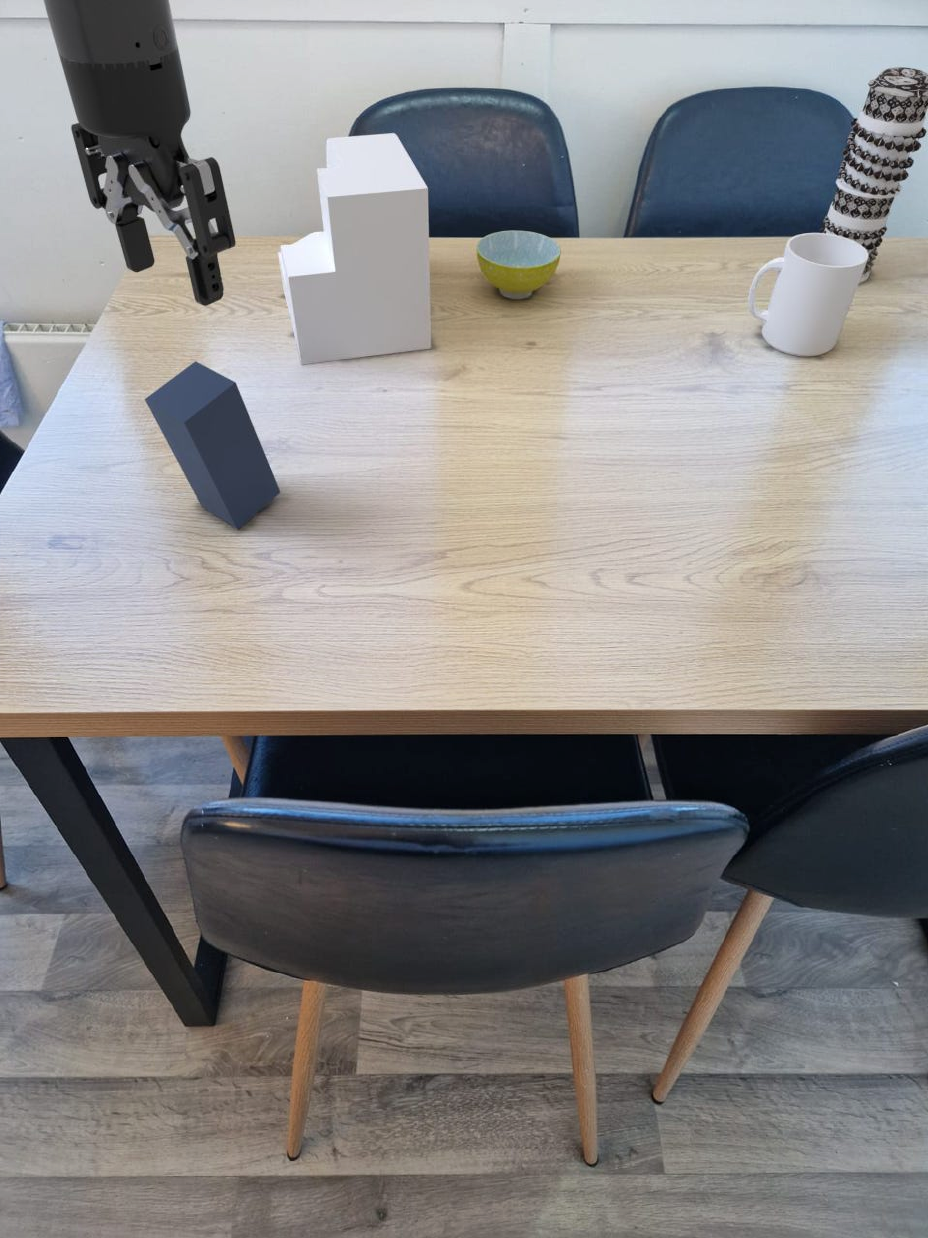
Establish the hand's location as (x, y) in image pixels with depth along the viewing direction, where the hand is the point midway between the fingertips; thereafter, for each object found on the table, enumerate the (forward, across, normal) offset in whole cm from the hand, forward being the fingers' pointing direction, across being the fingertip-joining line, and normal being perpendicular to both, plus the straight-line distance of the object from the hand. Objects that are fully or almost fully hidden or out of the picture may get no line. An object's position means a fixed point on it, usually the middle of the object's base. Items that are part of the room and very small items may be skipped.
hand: (175, 284), depth 66 cm
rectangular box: (+17, 0, -2) cm, 17 cm away
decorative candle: (+23, +26, +92) cm, 99 cm away
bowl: (+23, -6, +57) cm, 61 cm away
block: (+24, -20, +38) cm, 49 cm away
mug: (+23, +29, +69) cm, 78 cm away
